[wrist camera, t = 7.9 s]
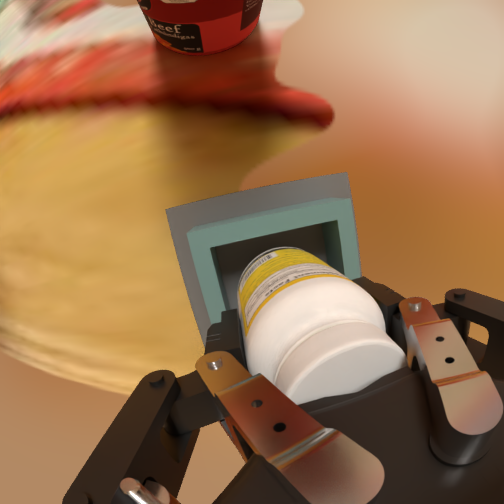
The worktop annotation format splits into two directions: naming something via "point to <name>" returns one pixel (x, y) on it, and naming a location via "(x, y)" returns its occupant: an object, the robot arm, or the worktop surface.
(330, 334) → the supplement bottle
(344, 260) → the grey-teal square frame
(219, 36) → the canned food
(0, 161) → the worktop surface
